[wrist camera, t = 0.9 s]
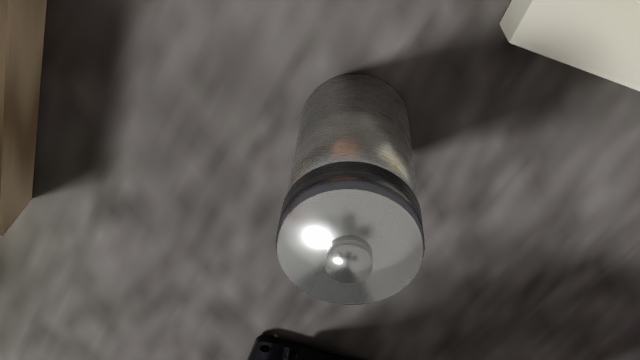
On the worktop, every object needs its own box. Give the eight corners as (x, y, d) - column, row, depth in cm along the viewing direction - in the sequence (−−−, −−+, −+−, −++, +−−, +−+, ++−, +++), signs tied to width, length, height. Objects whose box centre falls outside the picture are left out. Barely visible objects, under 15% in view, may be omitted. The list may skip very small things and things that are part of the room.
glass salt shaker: (384, 181, 23) (390, 335, 16) (286, 149, 22) (254, 295, 16) (427, 94, 20) (453, 233, 14) (320, 56, 20) (299, 184, 14)
